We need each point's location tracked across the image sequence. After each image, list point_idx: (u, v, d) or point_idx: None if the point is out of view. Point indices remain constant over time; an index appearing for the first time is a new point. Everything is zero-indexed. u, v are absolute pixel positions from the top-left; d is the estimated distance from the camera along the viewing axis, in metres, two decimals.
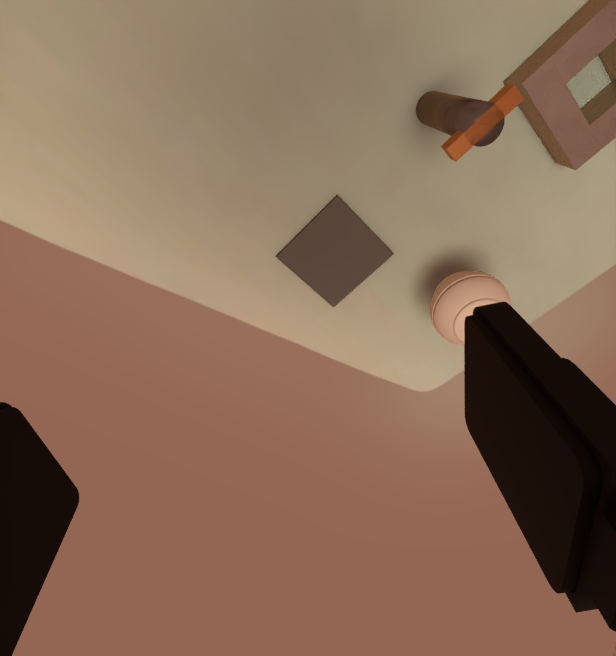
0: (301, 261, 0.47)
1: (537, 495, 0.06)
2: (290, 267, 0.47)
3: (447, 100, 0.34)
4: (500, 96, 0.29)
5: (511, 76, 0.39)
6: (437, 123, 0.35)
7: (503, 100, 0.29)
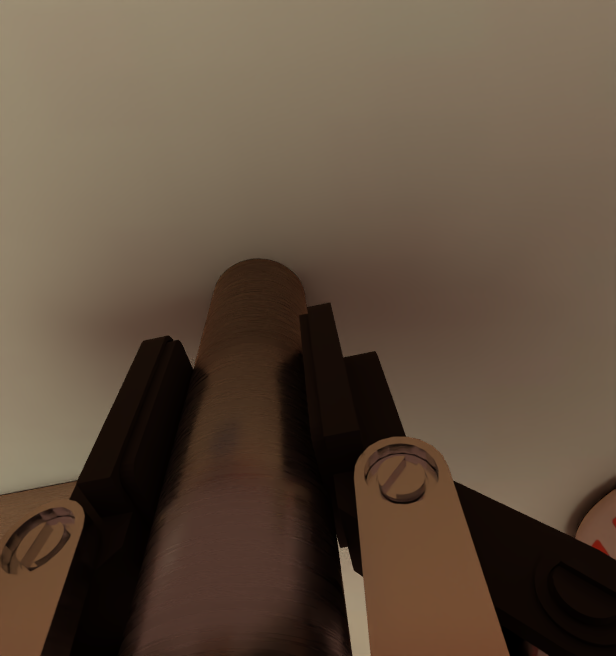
0: None
1: None
2: None
3: None
4: None
5: None
6: (258, 396, 0.07)
7: None
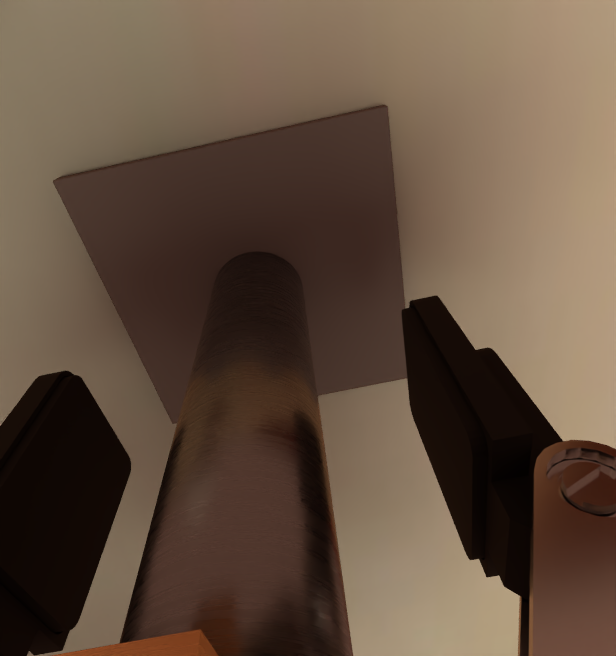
0: (362, 332, 0.15)
1: (452, 471, 0.07)
2: (402, 334, 0.15)
3: (323, 439, 0.08)
4: None
5: None
6: (257, 376, 0.08)
7: None
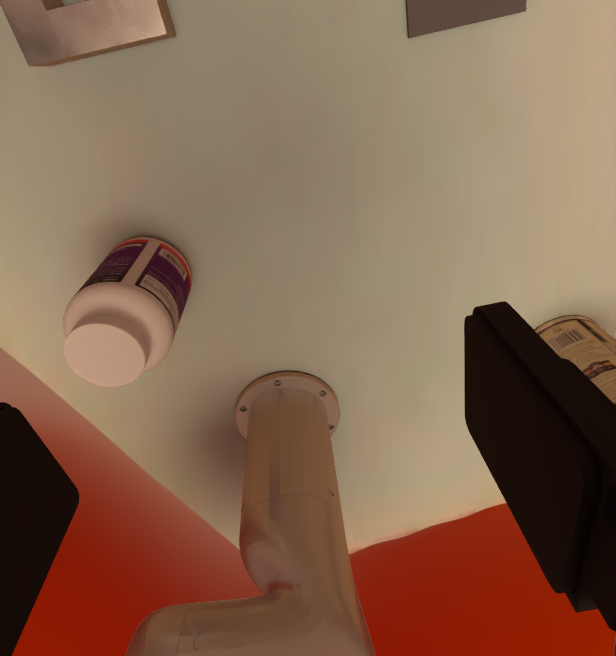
0: None
1: (537, 495, 0.06)
2: None
3: None
4: None
5: (167, 37, 0.33)
6: None
7: None
